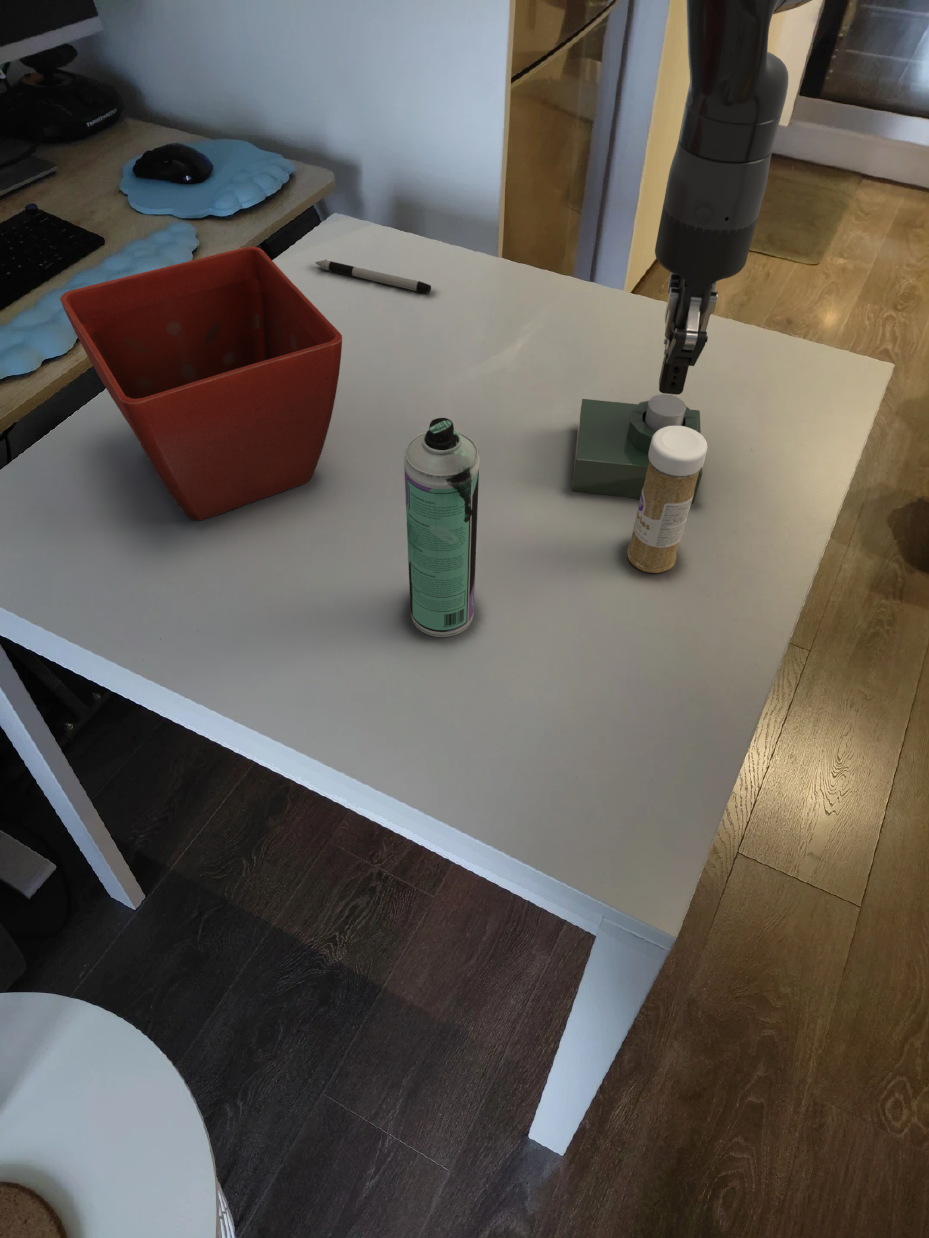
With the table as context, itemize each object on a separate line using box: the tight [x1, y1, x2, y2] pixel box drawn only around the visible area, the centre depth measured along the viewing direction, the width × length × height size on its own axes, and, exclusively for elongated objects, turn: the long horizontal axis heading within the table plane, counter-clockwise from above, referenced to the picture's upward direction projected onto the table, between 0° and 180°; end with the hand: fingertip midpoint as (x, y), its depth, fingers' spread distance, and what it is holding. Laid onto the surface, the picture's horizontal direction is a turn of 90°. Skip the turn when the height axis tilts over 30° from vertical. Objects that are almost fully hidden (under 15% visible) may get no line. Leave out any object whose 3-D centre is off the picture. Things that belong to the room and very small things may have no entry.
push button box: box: [571, 398, 704, 505], centre depth 90 cm, size 12×10×6 cm
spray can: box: [403, 417, 480, 638], centre depth 71 cm, size 6×6×20 cm
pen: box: [314, 259, 432, 294], centre depth 115 cm, size 1×16×1 cm, turn 68°
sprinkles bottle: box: [626, 426, 708, 574], centre depth 78 cm, size 5×5×14 cm
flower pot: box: [59, 246, 343, 522], centre depth 84 cm, size 19×19×17 cm
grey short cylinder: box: [645, 393, 687, 431], centre depth 87 cm, size 4×4×2 cm
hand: (670, 389), depth 85 cm, fingers closed
